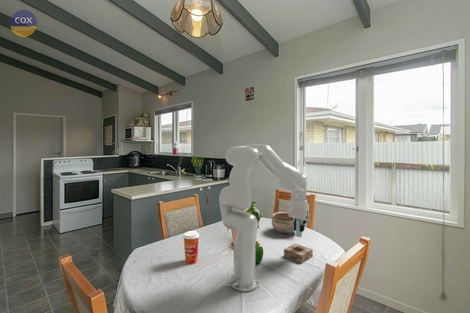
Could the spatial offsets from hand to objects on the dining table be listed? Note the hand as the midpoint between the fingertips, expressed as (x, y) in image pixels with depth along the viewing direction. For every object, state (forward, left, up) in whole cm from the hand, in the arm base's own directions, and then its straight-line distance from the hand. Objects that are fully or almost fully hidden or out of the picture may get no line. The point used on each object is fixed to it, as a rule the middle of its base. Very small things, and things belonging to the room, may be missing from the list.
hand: (298, 230), depth 131 cm
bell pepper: (-22, +12, -15) cm, 29 cm away
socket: (0, 0, -15) cm, 15 cm away
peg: (0, 0, -3) cm, 3 cm away
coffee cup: (-46, +35, -15) cm, 60 cm away
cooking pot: (+25, +26, -15) cm, 39 cm away
